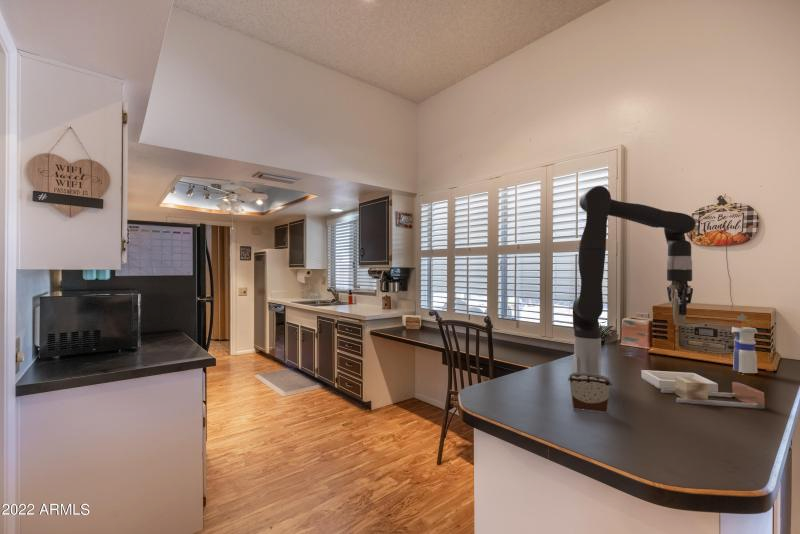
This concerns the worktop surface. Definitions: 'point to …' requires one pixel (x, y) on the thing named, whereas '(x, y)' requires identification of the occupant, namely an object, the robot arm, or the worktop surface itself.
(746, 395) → the track
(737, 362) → the water bottle
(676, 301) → the handle
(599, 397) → the food container
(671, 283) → the robot arm
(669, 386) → the tray
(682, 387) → the block
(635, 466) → the worktop surface
